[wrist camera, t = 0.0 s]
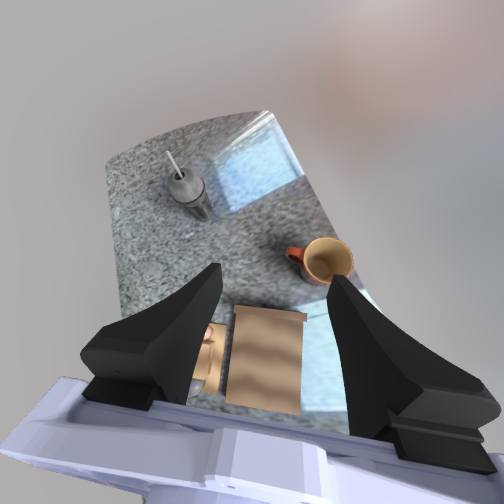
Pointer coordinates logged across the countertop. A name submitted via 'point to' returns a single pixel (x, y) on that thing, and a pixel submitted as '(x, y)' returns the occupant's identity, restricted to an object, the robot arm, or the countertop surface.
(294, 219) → the countertop surface
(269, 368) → the light wood stepped block
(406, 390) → the robot arm
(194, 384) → the wooden stand
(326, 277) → the mug
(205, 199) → the beverage cup
